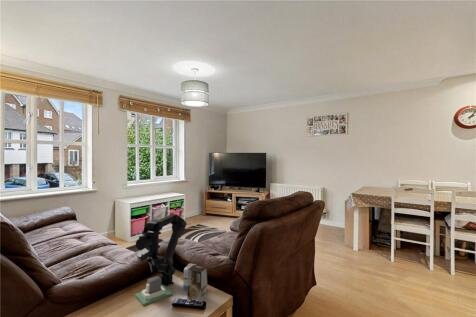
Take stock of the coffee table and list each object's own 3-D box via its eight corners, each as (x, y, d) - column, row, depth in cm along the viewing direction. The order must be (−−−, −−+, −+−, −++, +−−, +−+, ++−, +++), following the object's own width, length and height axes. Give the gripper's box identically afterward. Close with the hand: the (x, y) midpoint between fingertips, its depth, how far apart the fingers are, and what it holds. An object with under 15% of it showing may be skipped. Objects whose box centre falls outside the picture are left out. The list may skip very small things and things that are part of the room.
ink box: (190, 290, 138) (191, 270, 139) (182, 289, 139) (183, 269, 140) (196, 283, 147) (196, 263, 147) (188, 282, 148) (189, 263, 148)
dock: (163, 286, 143) (163, 281, 143) (172, 295, 134) (172, 289, 134) (135, 295, 132) (135, 290, 132) (143, 305, 123) (143, 300, 123)
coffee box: (207, 297, 132) (208, 267, 133) (201, 303, 127) (201, 272, 127) (193, 293, 136) (194, 264, 136) (186, 298, 130) (187, 268, 131)
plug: (157, 290, 137) (158, 275, 137) (160, 293, 134) (161, 278, 134) (145, 294, 132) (145, 279, 132) (147, 297, 129) (148, 282, 129)
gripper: (132, 242, 136) (131, 270, 136) (145, 252, 122) (144, 283, 122) (151, 238, 144) (151, 265, 144) (166, 247, 130) (165, 276, 130)
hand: (152, 272), depth 135 cm, fingers closed
